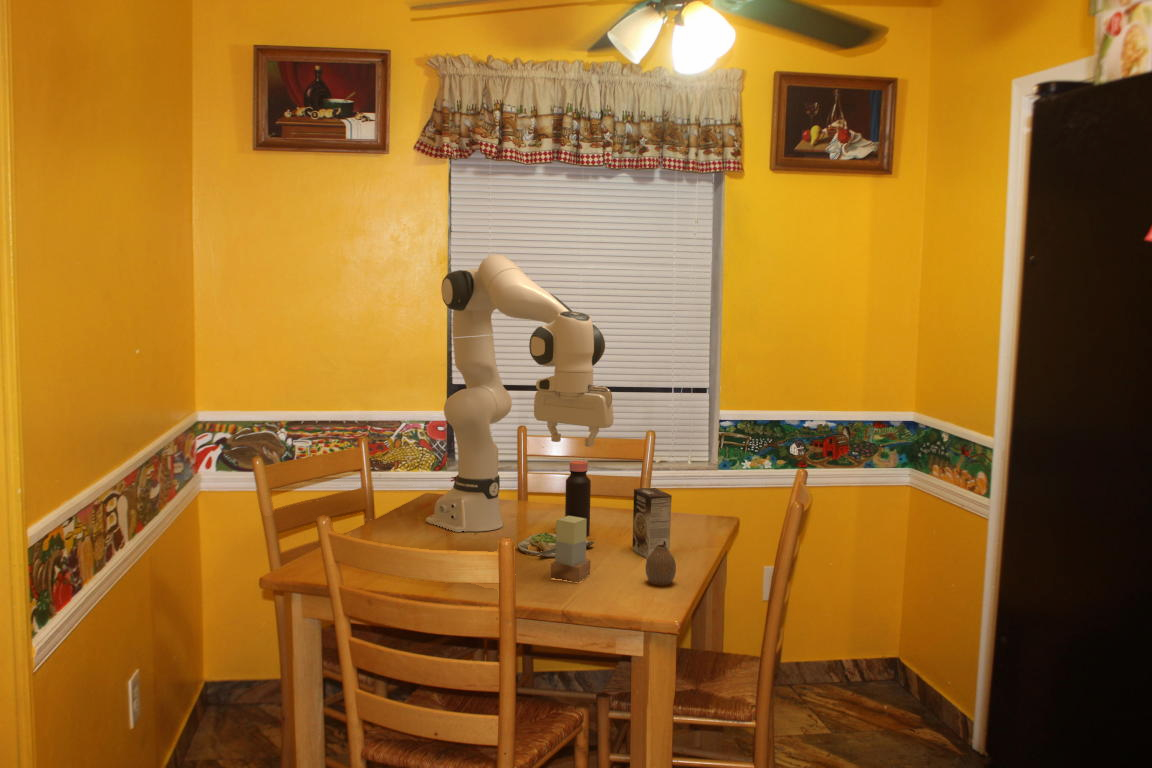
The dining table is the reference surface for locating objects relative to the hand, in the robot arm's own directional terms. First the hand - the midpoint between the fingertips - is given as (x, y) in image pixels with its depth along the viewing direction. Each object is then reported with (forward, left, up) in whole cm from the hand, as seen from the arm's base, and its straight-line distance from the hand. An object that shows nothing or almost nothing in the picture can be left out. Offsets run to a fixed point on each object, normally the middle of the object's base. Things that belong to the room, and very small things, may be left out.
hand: (572, 443), depth 213 cm
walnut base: (0, 0, -31) cm, 31 cm away
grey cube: (+1, -1, -27) cm, 27 cm away
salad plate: (-17, +17, -32) cm, 40 cm away
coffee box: (+5, +28, -31) cm, 42 cm away
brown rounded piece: (+19, +9, -31) cm, 38 cm away
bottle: (-20, +31, -31) cm, 48 cm away
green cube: (0, 0, -22) cm, 22 cm away
